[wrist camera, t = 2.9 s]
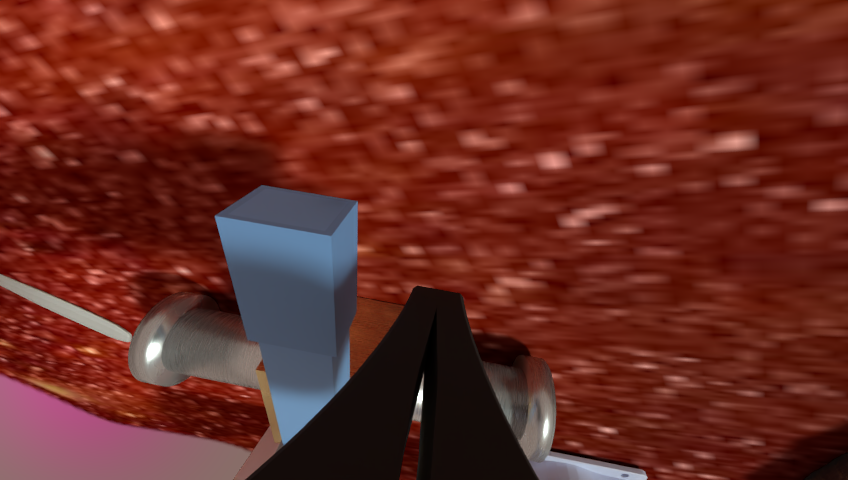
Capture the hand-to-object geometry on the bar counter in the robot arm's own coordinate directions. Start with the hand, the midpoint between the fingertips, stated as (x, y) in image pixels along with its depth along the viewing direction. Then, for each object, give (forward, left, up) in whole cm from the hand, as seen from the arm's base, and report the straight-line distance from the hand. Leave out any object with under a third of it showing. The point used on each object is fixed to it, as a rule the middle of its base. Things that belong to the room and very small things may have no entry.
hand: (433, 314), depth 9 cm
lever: (+4, +4, 0) cm, 5 cm away
